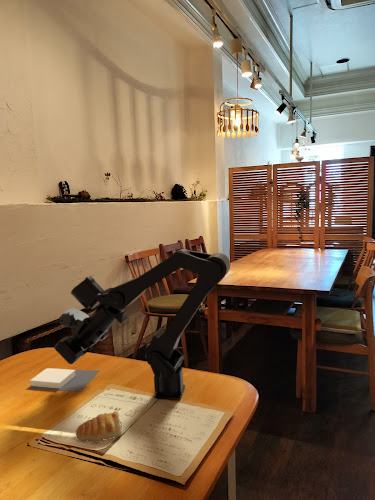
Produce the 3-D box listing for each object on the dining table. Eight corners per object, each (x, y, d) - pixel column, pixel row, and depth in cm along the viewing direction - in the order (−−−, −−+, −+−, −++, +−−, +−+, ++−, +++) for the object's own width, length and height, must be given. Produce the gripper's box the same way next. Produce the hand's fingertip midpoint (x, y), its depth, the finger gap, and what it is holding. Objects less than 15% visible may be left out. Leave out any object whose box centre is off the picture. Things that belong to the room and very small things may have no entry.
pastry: (77, 449, 74) (75, 431, 73) (75, 430, 80) (74, 414, 80) (124, 437, 77) (122, 420, 76) (119, 420, 83) (118, 404, 83)
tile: (75, 370, 104) (47, 368, 106) (59, 382, 97) (30, 380, 99) (75, 375, 104) (47, 373, 107) (60, 388, 97) (30, 386, 99)
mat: (100, 372, 107) (99, 370, 107) (81, 393, 95) (80, 391, 95) (52, 370, 110) (52, 368, 110) (28, 391, 98) (28, 389, 98)
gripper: (95, 290, 105) (65, 326, 110) (57, 309, 88) (22, 351, 92) (123, 318, 104) (91, 353, 109) (90, 343, 87) (53, 384, 91)
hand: (66, 359), depth 100 cm, fingers closed
